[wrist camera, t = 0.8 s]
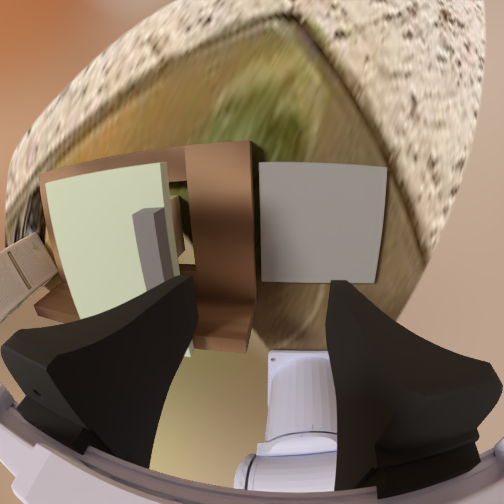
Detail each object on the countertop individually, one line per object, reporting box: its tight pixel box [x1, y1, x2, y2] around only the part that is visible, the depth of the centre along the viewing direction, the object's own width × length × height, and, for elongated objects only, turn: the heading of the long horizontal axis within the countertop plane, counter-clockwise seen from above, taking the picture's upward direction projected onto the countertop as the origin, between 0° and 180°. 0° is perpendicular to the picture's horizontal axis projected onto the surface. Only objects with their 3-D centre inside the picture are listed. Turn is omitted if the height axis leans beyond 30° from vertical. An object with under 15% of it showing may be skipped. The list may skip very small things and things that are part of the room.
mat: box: [259, 162, 387, 283], centre depth 19 cm, size 9×9×1 cm
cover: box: [45, 162, 194, 357], centre depth 15 cm, size 12×9×2 cm
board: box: [34, 141, 257, 353], centre depth 19 cm, size 13×21×6 cm, turn 92°
